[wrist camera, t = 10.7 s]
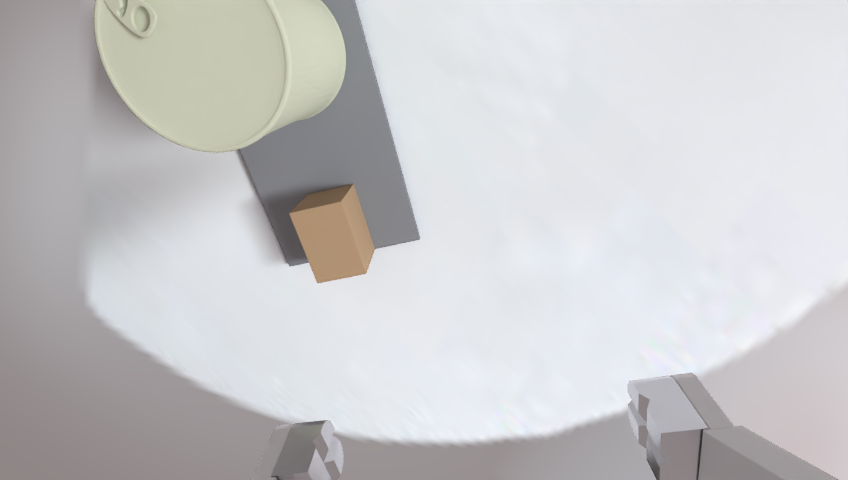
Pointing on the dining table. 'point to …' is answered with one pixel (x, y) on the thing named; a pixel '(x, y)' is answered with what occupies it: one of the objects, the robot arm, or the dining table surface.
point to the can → (220, 65)
